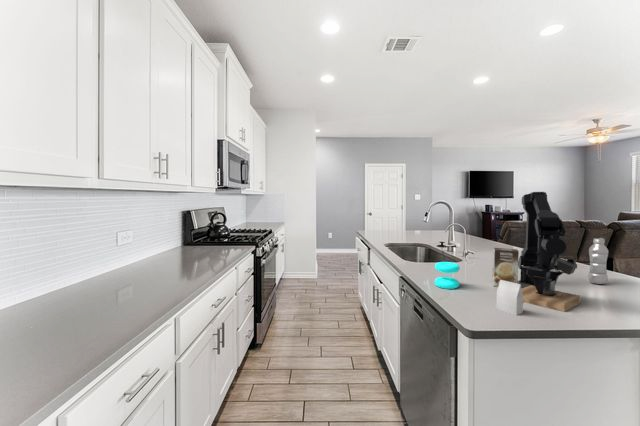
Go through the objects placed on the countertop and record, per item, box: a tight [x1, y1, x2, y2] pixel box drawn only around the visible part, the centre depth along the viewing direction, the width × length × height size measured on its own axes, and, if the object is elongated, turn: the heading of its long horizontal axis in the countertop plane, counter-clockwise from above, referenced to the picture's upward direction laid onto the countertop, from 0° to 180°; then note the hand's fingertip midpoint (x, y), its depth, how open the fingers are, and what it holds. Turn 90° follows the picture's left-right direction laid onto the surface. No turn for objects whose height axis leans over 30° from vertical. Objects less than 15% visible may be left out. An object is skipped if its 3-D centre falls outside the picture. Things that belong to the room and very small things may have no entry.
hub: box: [521, 285, 581, 313], centre depth 117 cm, size 16×14×3 cm
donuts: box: [434, 261, 461, 290], centre depth 137 cm, size 10×10×10 cm
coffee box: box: [491, 247, 520, 288], centre depth 137 cm, size 9×6×16 cm
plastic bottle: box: [587, 237, 609, 285], centre depth 139 cm, size 6×7×20 cm
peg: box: [538, 278, 556, 297], centre depth 117 cm, size 4×4×9 cm
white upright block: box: [496, 280, 524, 316], centre depth 107 cm, size 4×7×10 cm, turn 29°
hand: (546, 292), depth 117 cm, fingers open, 9 cm apart
